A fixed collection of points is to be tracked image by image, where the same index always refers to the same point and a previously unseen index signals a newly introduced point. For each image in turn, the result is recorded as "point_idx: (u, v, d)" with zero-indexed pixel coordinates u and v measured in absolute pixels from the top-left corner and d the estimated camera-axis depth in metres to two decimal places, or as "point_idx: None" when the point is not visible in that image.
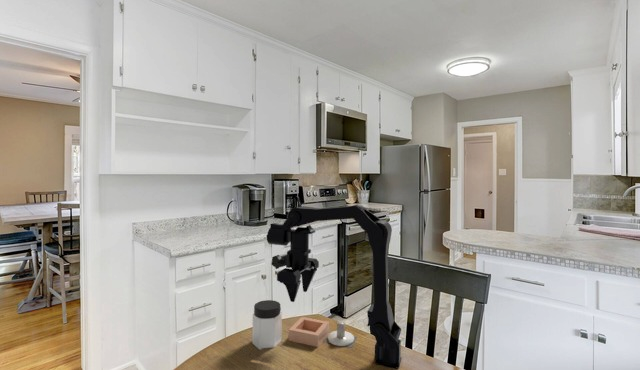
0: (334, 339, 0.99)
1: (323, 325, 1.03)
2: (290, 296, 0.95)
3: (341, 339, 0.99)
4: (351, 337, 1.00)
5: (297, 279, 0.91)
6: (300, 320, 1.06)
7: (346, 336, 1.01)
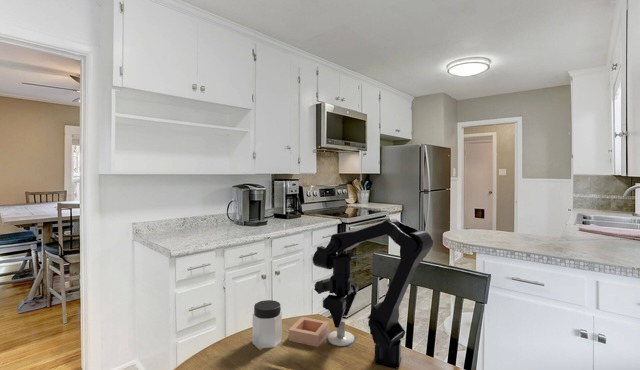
0: (334, 339, 0.99)
1: (323, 325, 1.03)
2: (335, 322, 0.96)
3: (341, 339, 0.99)
4: (351, 337, 1.00)
5: (343, 306, 0.92)
6: (300, 320, 1.06)
7: (346, 336, 1.01)
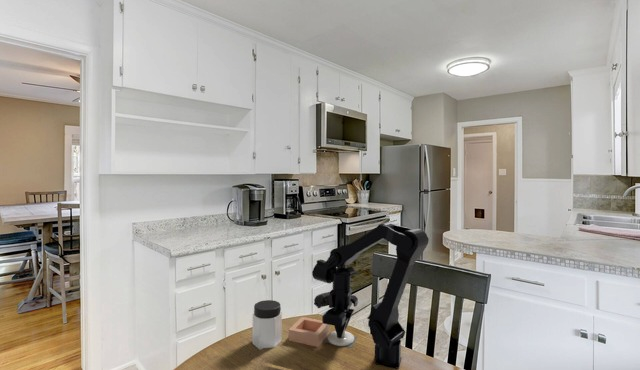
0: (334, 339, 0.99)
1: (323, 325, 1.03)
2: (337, 332, 0.99)
3: (341, 339, 0.99)
4: (351, 337, 1.00)
5: (343, 322, 0.92)
6: (300, 320, 1.06)
7: (346, 336, 1.01)
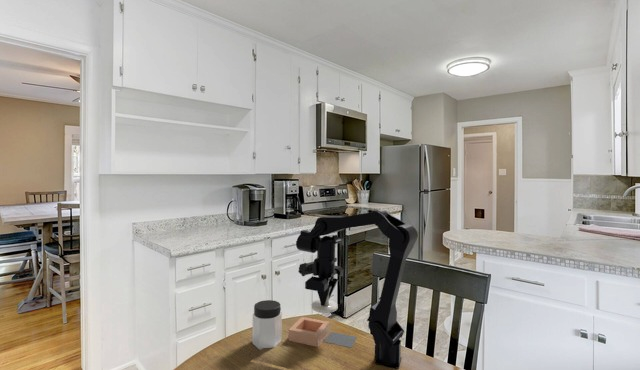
0: (317, 306, 1.00)
1: (323, 325, 1.03)
2: (321, 300, 1.00)
3: (324, 306, 1.00)
4: (335, 305, 1.01)
5: (325, 288, 0.93)
6: (300, 320, 1.06)
7: (330, 304, 1.02)
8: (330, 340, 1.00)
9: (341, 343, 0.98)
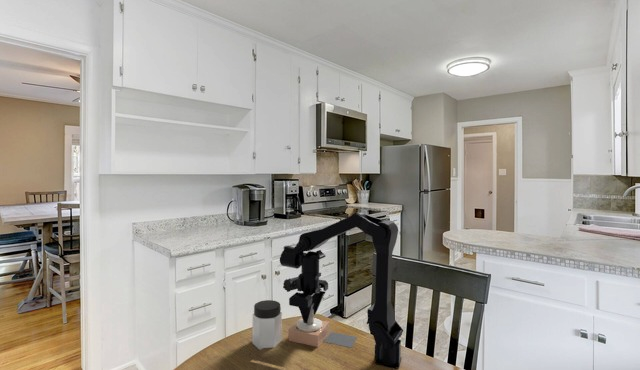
0: (302, 325, 1.01)
1: (323, 325, 1.03)
2: (303, 318, 0.99)
3: (309, 325, 1.01)
4: (320, 324, 1.02)
5: (309, 304, 0.94)
6: None
7: (315, 322, 1.03)
8: (330, 340, 1.00)
9: (341, 343, 0.98)
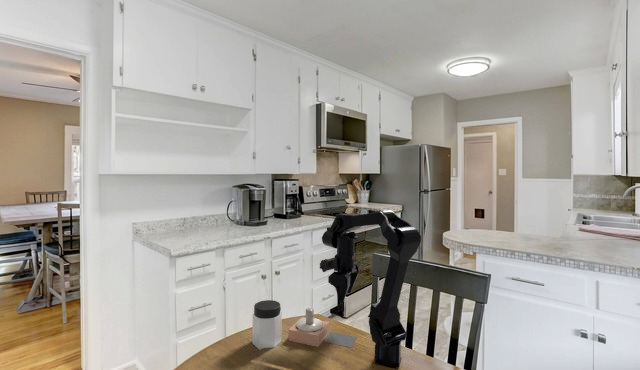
0: (302, 325, 1.01)
1: (323, 325, 1.03)
2: (339, 297, 1.01)
3: (309, 325, 1.01)
4: (320, 324, 1.02)
5: (348, 281, 0.98)
6: None
7: (315, 322, 1.03)
8: (330, 340, 1.00)
9: (341, 343, 0.98)
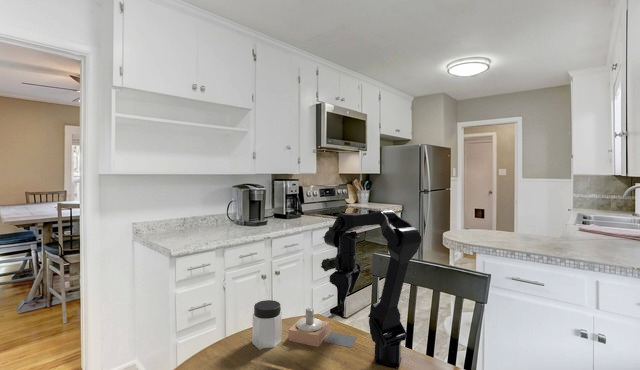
0: (302, 325, 1.01)
1: (323, 325, 1.03)
2: (340, 297, 1.01)
3: (309, 325, 1.01)
4: (320, 324, 1.02)
5: (349, 281, 0.98)
6: None
7: (315, 322, 1.03)
8: (330, 340, 1.00)
9: (341, 343, 0.98)
